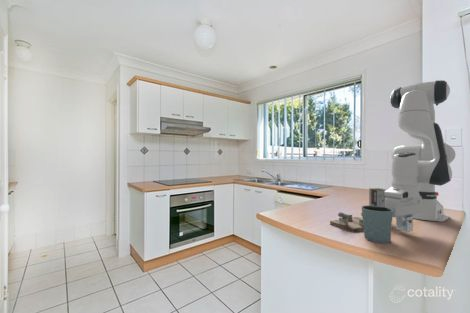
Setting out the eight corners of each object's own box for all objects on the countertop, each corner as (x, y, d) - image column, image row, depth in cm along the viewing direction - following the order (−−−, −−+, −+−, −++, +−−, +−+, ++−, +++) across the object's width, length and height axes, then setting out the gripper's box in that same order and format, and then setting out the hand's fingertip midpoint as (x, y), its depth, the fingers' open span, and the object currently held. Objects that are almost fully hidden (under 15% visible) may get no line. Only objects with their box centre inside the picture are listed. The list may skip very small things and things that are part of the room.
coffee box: (391, 225, 101) (391, 190, 101) (376, 224, 102) (376, 190, 102) (382, 219, 110) (382, 188, 110) (368, 219, 111) (368, 187, 111)
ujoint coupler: (401, 227, 92) (401, 213, 92) (413, 231, 88) (413, 216, 88) (395, 229, 91) (395, 214, 91) (408, 232, 86) (408, 217, 86)
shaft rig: (358, 219, 110) (358, 205, 110) (382, 226, 99) (382, 211, 99) (328, 224, 101) (328, 209, 101) (351, 232, 90) (351, 215, 90)
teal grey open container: (399, 242, 80) (399, 210, 80) (378, 245, 77) (378, 212, 77) (374, 233, 90) (374, 204, 90) (355, 235, 87) (355, 205, 87)
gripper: (410, 188, 96) (410, 219, 97) (381, 192, 88) (381, 225, 88) (427, 191, 91) (427, 223, 91) (398, 194, 82) (398, 230, 82)
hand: (404, 224), depth 89 cm, fingers closed on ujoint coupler, 4 cm apart
